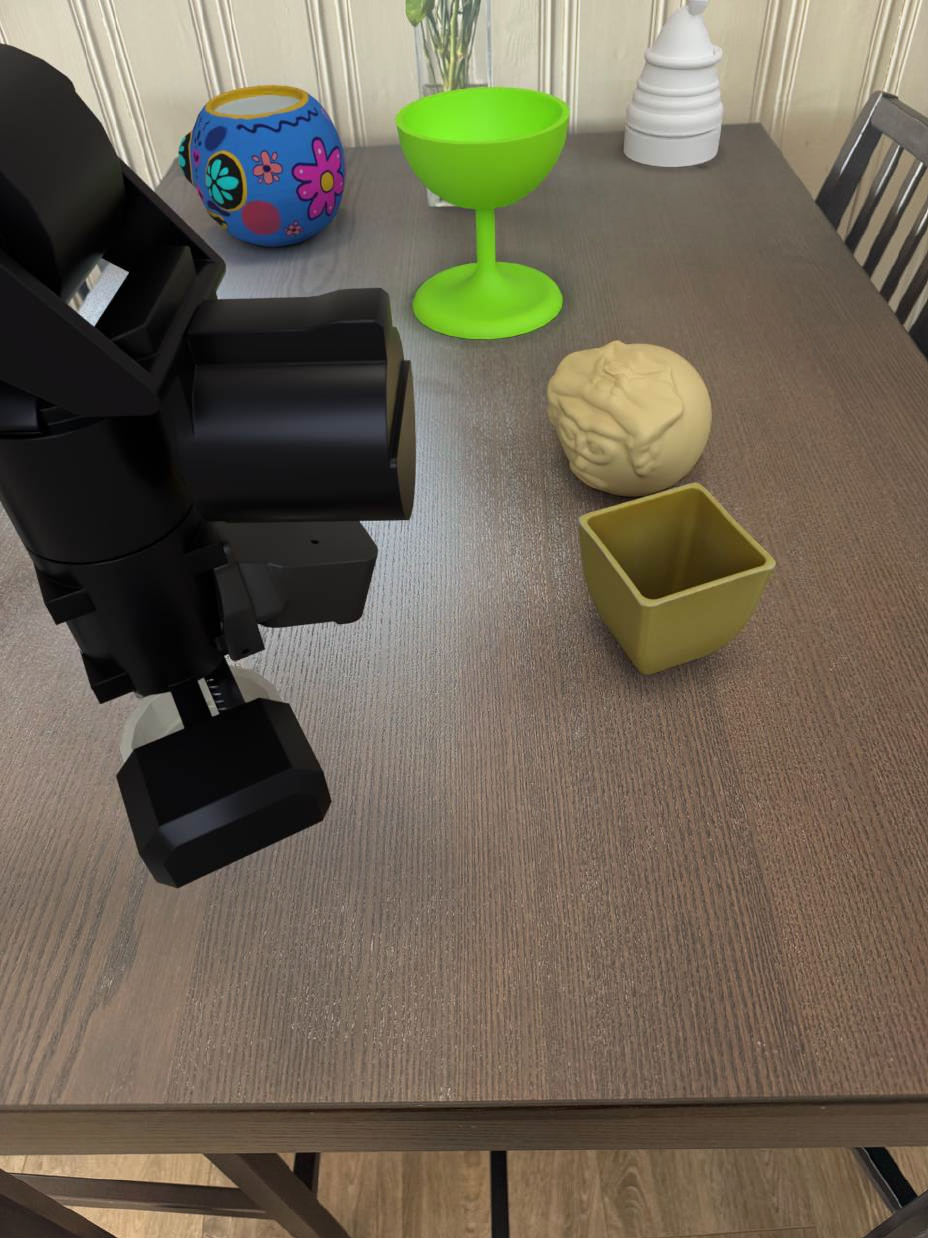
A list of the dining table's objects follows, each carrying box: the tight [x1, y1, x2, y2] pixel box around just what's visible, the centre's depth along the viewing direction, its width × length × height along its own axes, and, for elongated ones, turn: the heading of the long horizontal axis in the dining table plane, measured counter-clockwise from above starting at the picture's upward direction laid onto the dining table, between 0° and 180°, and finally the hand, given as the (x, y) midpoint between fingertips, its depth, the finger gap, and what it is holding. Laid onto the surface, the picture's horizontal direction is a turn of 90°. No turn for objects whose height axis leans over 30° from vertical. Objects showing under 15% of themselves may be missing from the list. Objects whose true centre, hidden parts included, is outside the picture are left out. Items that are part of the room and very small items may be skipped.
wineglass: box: [394, 86, 571, 340], centre depth 86 cm, size 16×16×18 cm
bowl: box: [119, 664, 284, 764], centre depth 39 cm, size 7×7×4 cm
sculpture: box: [546, 339, 713, 498], centre depth 67 cm, size 12×12×11 cm
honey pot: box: [623, 0, 725, 168], centre depth 114 cm, size 13×13×18 cm
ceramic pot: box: [177, 84, 347, 247], centre depth 101 cm, size 18×18×15 cm
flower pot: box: [577, 482, 777, 676], centre depth 55 cm, size 9×9×9 cm
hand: (222, 772), depth 40 cm, fingers closed on bowl, 7 cm apart
